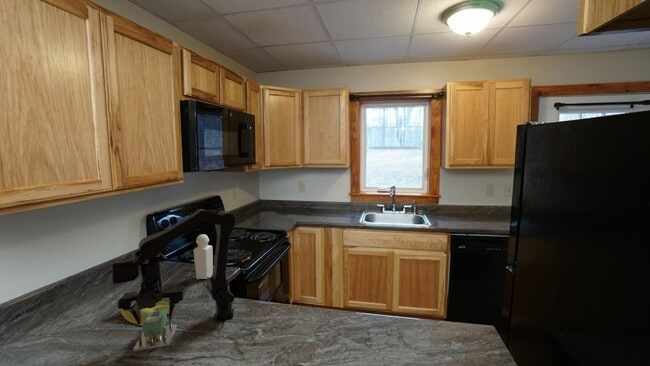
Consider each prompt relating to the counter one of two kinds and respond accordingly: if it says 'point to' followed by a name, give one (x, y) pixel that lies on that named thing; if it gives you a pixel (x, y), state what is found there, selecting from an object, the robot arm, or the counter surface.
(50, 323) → the counter surface
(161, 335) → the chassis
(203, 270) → the white peg figure
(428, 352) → the counter surface
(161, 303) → the plastic component
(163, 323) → the green block
